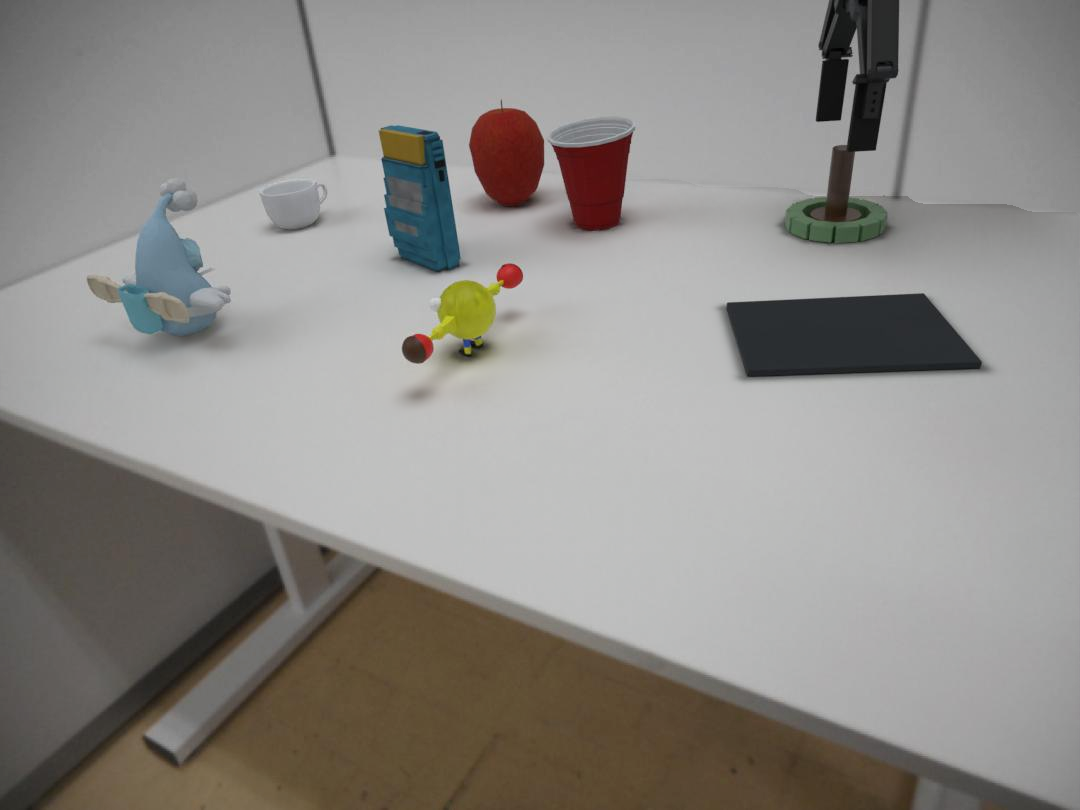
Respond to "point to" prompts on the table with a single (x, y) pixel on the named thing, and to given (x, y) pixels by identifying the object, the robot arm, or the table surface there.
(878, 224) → the ring
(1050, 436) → the table surface
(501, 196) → the apple
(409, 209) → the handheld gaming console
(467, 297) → the toy figure
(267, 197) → the teacup
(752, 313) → the mat
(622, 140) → the plastic cup
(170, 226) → the toy figure
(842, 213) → the peg stand
